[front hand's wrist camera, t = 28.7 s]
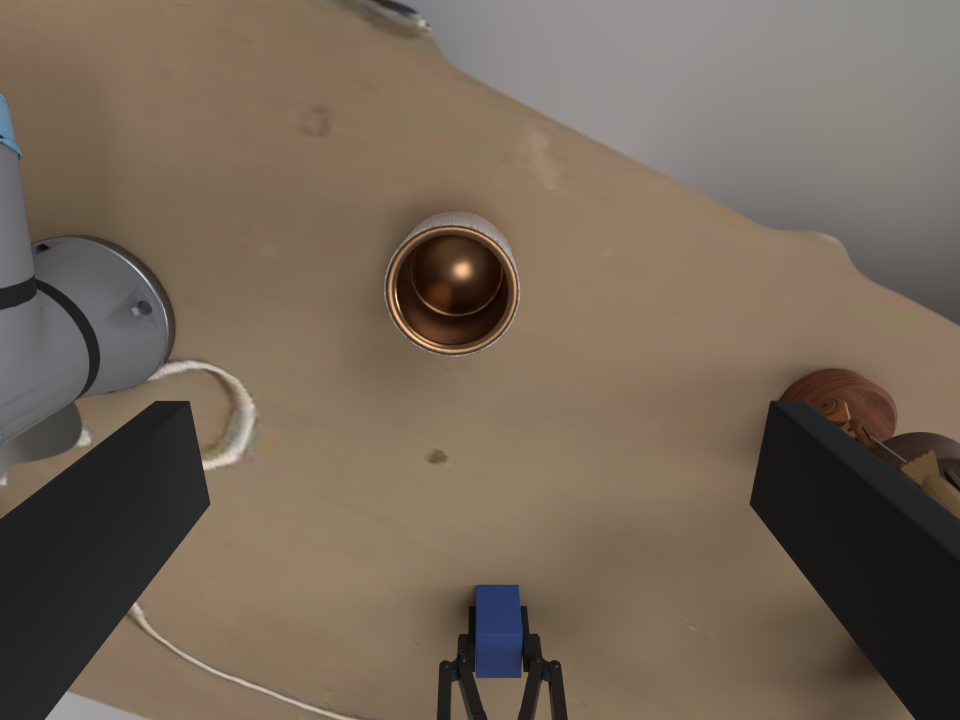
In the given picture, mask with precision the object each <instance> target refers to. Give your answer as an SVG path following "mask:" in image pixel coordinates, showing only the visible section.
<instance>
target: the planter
mask: <svg viewBox="0 0 960 720" xmlns="http://www.w3.org/2000/svg"><path fill="white" fill-rule="evenodd" d="M384 297H385V303H386V307H387V310H388V313H389V315H390V317H391V319H392V321H393V323H394V325H395V326H396V327H397V329H398V330H399V331H400V333H401V334H402V335H403V336H404V337H405V338H406V339H407V340H409V341H410V342H411V343H413V344H414V345H416V346H417V347H419V348H421V349H423V350H425V351H427V352H430V353H433V354H436V355H441V356H451V357H455V356H465V355H470V354H473V353H476V352H479V351H481V350H483V349H485V348H487V347H489V346H491V345H492V344H493V343H495V342H496V341H497V340H498V339H499V338H500V337H501V336H502V335H503V334H504V333H505V332H506V331H507V329H508V328H509V326H510V325H511V323H512V321H513V319H514V317H515V315H516V312H517V309H518V305H519V299H520V282H519V276H518V272H517V269H516V265H515V260H514V256H513V253H512V250H511V247H510V245H509V243H508V241H507V239H506V238H505V236H504V235H503V234H502V232H501V231H500V230H499V229H498V228H497V227H496V226H495V225H494V224H492V223H491V222H490V221H488V220H487V219H485V218H483V217H481V216H479V215H476V214H473V213H470V212H465V211H446V212H441V213H437V214H435V215H432V216H430V217H428V218H426V219H425V220H423V221H422V222H420V223H419V224H418V225H417V226H415V227H414V228H413V230H412V231H411V232H410V233H409V234H408V236H407V237H406V238H405V240H404V241H403V243H402V244H401V245H400V246H399V247H398V249H397V250H396V251H395V253H394V255H393V256H392V258H391V260H390V262H389V265H388V267H387V270H386V275H385V280H384Z"/></svg>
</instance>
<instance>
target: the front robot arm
mask: <svg viewBox="0 0 960 720" xmlns="http://www.w3.org/2000/svg"><path fill="white" fill-rule="evenodd" d="M21 158H22V153H21V151H20V149H19V147H18V145H17V144H16V141H15V136H14V131H13V126H12V121H11V116H10V111H9V107H8V104H7V102H6V100H5V98H4V97H3V95H2V94H1V93H0V447H1V446H3V445H5V444H6V443H8V442H9V441H11V440H13V439H14V438H16V437H17V436H19V435H21V434H22V433H24V432H25V431H27V430H28V429H30V428H32V427H33V426H35V425H36V424H38V423H39V422H41V421H43V420H44V419H46V418H47V417H49V416H51V415H52V414H54V413H55V412H57V411H59V410H60V409H62V408H63V407H65V406H67V405H68V404H70V403H71V402H73V401H75V400H76V399H78V398H83V397H88V396H92V395H102V394H110V393H116V392H120V391H124V390H127V389H130V388H132V387H134V386H136V385H138V384H140V383H141V382H143V381H145V380H146V379H147V378H149V377H150V376H152V375H153V374H154V373H156V372H157V371H158V370H159V369H160V368H161V367H162V366H163V364H164V363H165V362H166V360H167V358H168V356H169V354H170V352H171V350H172V346H173V343H174V337H175V321H174V315H173V311H172V307H171V304H170V301H169V299H168V297H167V295H166V292H165V291H164V289H163V287H162V285H161V284H160V282H159V281H158V280H157V278H156V277H155V276H154V274H153V273H152V272H151V271H150V270H149V269H148V268H147V267H146V266H145V265H144V264H143V263H142V262H141V261H140V260H139V259H137V258H136V257H135V256H133V255H132V254H131V253H129V252H128V251H126V250H124V249H123V248H121V247H119V246H117V245H115V244H113V243H110V242H108V241H105V240H102V239H99V238H95V237H90V236H83V235H66V236H60V237H55V238H50V239H45V240H42V241H38V242H36V243H33V244H31V243H30V236H29V229H28V222H27V215H26V208H25V201H24V194H23V187H22V180H21V173H20V166H19V160H20V159H21ZM209 505H210V500H209V495H208V490H207V485H206V480H205V475H204V470H203V465H202V460H201V455H200V450H199V445H198V441H197V436H196V431H195V426H194V421H193V416H192V411H191V406H190V401H155V402H154V403H152V404H151V405H150V406H148V407H147V408H146V409H144V410H143V411H142V412H140V413H139V414H138V415H137V416H135V417H134V418H133V419H131V420H130V421H129V422H127V423H126V424H125V425H123V426H122V427H121V428H119V429H118V430H117V431H116V432H114V433H113V434H112V435H110V436H109V437H108V438H106V439H105V440H104V441H102V442H101V443H100V444H98V445H97V446H96V447H95V448H93V449H92V450H91V451H89V452H88V453H87V454H85V455H84V456H83V457H81V458H80V459H79V460H77V461H76V462H75V463H74V464H72V465H71V466H70V467H68V468H67V469H66V470H64V471H63V472H62V473H60V474H59V475H58V476H56V477H55V478H54V479H53V480H51V481H50V482H49V483H47V484H46V485H45V486H43V487H42V488H41V489H39V490H38V491H37V492H35V493H34V494H33V495H32V496H30V497H29V498H28V499H26V500H25V501H24V502H22V503H21V504H20V505H18V506H17V507H16V508H14V509H13V510H12V511H11V512H9V513H8V514H7V515H5V516H4V517H3V518H1V519H0V720H45V718H46V717H47V716H48V714H49V713H50V712H51V711H52V709H53V708H54V707H55V705H56V704H57V703H58V702H59V700H60V699H61V698H62V696H63V695H64V694H65V692H66V691H67V690H68V689H69V687H70V686H71V685H72V683H73V682H74V681H75V679H76V678H77V677H78V676H79V674H80V673H81V672H82V670H83V669H84V668H85V666H86V665H87V664H88V663H89V661H90V660H91V659H92V657H93V656H94V655H95V653H96V652H97V651H98V650H99V648H100V647H101V646H102V644H103V643H104V642H105V640H106V639H107V638H108V637H109V635H110V634H111V633H112V631H113V630H114V629H115V627H116V626H117V625H118V624H119V622H120V621H121V620H122V618H123V617H124V616H125V614H126V613H127V612H128V611H129V609H130V608H131V607H132V605H133V604H134V603H135V601H136V600H137V599H138V598H139V596H140V595H141V594H142V592H143V591H144V590H145V588H146V587H147V586H148V585H149V583H150V582H151V581H152V579H153V578H154V577H155V575H156V574H157V573H158V572H159V570H160V569H161V568H162V566H163V565H164V564H165V562H166V561H167V560H168V559H169V557H170V556H171V555H172V553H173V552H174V551H175V550H176V548H177V547H178V546H179V544H180V543H181V542H182V540H183V539H184V538H185V537H186V535H187V534H188V533H189V531H190V530H191V529H192V527H193V526H194V525H195V524H196V522H197V521H198V520H199V518H200V517H201V516H202V514H203V513H204V512H205V511H206V509H207V508H208V507H209ZM750 505H751V507H752V508H753V509H754V511H755V512H756V513H757V514H758V516H759V517H760V518H761V520H762V521H763V522H764V524H765V525H766V526H767V527H768V529H769V530H770V531H771V533H772V534H773V535H774V537H775V538H776V539H777V540H778V542H779V543H780V544H781V546H782V547H783V548H784V550H785V551H786V552H787V553H788V555H789V556H790V557H791V559H792V560H793V561H794V562H795V564H796V565H797V566H798V568H799V569H800V570H801V572H802V573H803V574H804V575H805V577H806V578H807V579H808V581H809V582H810V583H811V585H812V586H813V587H814V588H815V590H816V591H817V592H818V594H819V595H820V596H821V598H822V599H823V600H824V601H825V603H826V604H827V605H828V607H829V608H830V609H831V611H832V612H833V613H834V614H835V616H836V617H837V618H838V620H839V621H840V622H841V624H842V625H843V626H844V627H845V629H846V630H847V631H848V633H849V634H850V635H851V637H852V638H853V639H854V640H855V642H856V643H857V644H858V646H859V647H860V648H861V650H862V651H863V652H864V653H865V655H866V656H867V657H868V659H869V660H870V661H871V663H872V664H873V665H874V666H875V668H876V669H877V670H878V672H879V673H880V674H881V676H882V677H883V678H884V679H885V681H886V682H887V683H888V685H889V686H890V687H891V689H892V690H893V691H894V692H895V694H896V695H897V696H898V698H899V699H900V700H901V702H902V703H903V704H904V705H905V707H906V708H907V709H908V711H909V712H910V713H911V715H912V716H913V717H914V718H915V720H960V519H959V518H957V517H956V516H955V515H953V514H952V513H951V512H949V511H948V510H947V509H946V508H944V507H943V506H942V505H940V504H939V503H938V502H936V501H935V500H934V499H932V498H931V497H930V496H928V495H927V494H926V493H925V492H923V491H922V490H921V489H919V488H918V487H917V486H915V485H914V484H913V483H911V482H910V481H909V480H907V479H906V478H905V477H904V476H902V475H901V474H900V473H898V472H897V471H896V470H894V469H893V468H892V467H890V466H889V465H888V464H886V463H885V462H884V461H883V460H881V459H880V458H879V457H877V456H876V455H875V454H873V453H872V452H871V451H869V450H868V449H867V448H865V447H864V446H863V445H862V444H860V443H859V442H858V441H856V440H855V439H854V438H852V437H851V436H850V435H848V434H847V433H846V432H844V431H843V430H842V429H841V428H839V427H838V426H837V425H835V424H834V423H833V422H831V421H830V420H829V419H827V418H826V417H825V416H823V415H822V414H821V413H820V412H818V411H817V410H816V409H814V408H813V407H812V406H810V405H809V404H808V403H806V402H805V401H770V406H769V411H768V416H767V421H766V426H765V431H764V436H763V441H762V445H761V450H760V455H759V460H758V465H757V470H756V475H755V480H754V485H753V490H752V495H751V500H750Z"/></svg>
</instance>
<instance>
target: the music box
mask: <svg viewBox="0 0 960 720" xmlns="http://www.w3.org/2000/svg"><path fill="white" fill-rule="evenodd" d="M781 401H805V402H806V403H808V404H809V405H810V406H812V407H813V408H814V409H816V410H817V411H818V412H820V413H821V414H822V415H823V416H825V417H826V418H827V419H829V420H830V421H831V422H833V423H834V424H835V425H837V426H838V427H839V428H841V429H842V430H843V431H844V432H846V433H847V434H848V435H850V436H851V437H852V438H854V439H855V440H856V441H858V442H859V443H860V444H862V445H863V446H864V447H865V448H867V449H868V450H869V451H871V452H872V453H873V454H875V455H876V456H877V457H879V458H880V459H881V460H883V461H884V462H885V463H886V464H888V465H889V466H890V467H892V468H893V469H894V470H896V471H897V472H898V473H900V474H901V475H902V476H904V477H905V478H906V479H907V480H909V481H910V482H911V483H913V484H914V485H915V486H917V487H918V488H919V489H921V490H922V491H923V492H925V493H926V494H927V495H928V496H930V497H931V498H932V499H934V500H935V501H936V502H938V503H939V504H940V505H942V506H943V507H944V508H946V509H947V510H948V511H949V512H951V513H952V514H953V515H955V516H956V517H957V518H959V519H960V444H959V443H958V442H956V441H954V440H952V439H950V438H948V437H945V436H942V435H939V434H934V433H927V432H914V433H906V434H902V435H898V436H895V437H893V435H894V433H895V430H896V426H897V409H896V405H895V403H894V401H893V399H892V397H891V396H890V395H889V394H888V393H887V392H886V391H885V390H884V389H883V388H881V387H879V386H878V385H876V384H874V383H873V382H871V381H869V380H867V379H866V378H864V377H862V376H861V375H859V374H857V373H855V372H852V371H848V370H843V369H829V370H823V371H819V372H816V373H813V374H811V375H809V376H807V377H805V378H803V379H802V380H800V381H799V382H797V383H796V384H795V385H794V386H792V387H791V388H790V389H789V390H788V391H787V393H786V394H785V395H784V396H783V398H782V399H781Z"/></svg>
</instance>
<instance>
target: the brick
mask: <svg viewBox="0 0 960 720" xmlns="http://www.w3.org/2000/svg"><path fill="white" fill-rule="evenodd" d="M522 639H523V632H522V621H521V609H520V598H519V587H518V585H477V586H476V678H521V666H522Z"/></svg>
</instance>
